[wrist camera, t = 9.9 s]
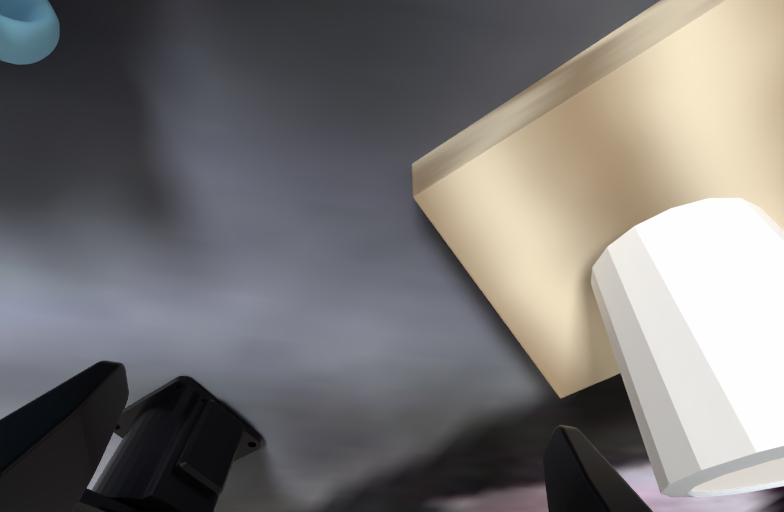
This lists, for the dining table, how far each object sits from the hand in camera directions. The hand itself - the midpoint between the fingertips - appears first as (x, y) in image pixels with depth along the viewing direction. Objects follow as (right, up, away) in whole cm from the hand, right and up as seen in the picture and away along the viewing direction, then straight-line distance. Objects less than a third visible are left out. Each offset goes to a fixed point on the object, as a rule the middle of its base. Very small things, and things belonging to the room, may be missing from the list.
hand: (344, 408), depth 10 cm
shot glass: (+11, +3, +7) cm, 13 cm away
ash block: (+10, +6, +11) cm, 16 cm away
